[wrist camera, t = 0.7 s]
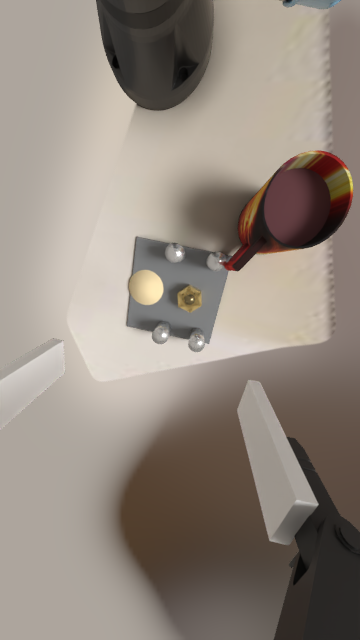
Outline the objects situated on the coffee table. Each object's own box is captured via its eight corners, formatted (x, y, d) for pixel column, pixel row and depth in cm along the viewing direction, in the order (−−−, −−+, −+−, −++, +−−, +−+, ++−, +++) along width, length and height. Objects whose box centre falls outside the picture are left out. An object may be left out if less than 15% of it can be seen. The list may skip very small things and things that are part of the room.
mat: (134, 236, 35) (134, 236, 35) (232, 256, 34) (232, 256, 34) (125, 325, 41) (124, 325, 40) (208, 343, 40) (208, 343, 40)
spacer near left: (171, 243, 34) (166, 241, 30) (187, 247, 34) (185, 245, 30) (168, 260, 35) (163, 260, 31) (183, 263, 35) (181, 264, 31)
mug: (221, 268, 35) (235, 270, 23) (250, 185, 31) (284, 138, 19) (270, 283, 35) (308, 292, 24) (305, 202, 31) (371, 166, 20)
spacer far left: (158, 319, 39) (153, 327, 34) (172, 322, 39) (169, 331, 34) (156, 332, 40) (150, 342, 35) (169, 335, 40) (166, 345, 35)
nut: (178, 285, 37) (176, 286, 34) (200, 283, 36) (201, 285, 34) (180, 310, 38) (178, 313, 36) (201, 309, 38) (201, 312, 35)
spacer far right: (191, 326, 39) (190, 335, 34) (205, 329, 39) (206, 339, 34) (188, 339, 40) (186, 350, 35) (201, 342, 40) (202, 353, 35)
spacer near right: (208, 251, 34) (210, 250, 29) (224, 254, 34) (228, 253, 29) (204, 268, 35) (205, 269, 30) (220, 271, 35) (223, 273, 30)
